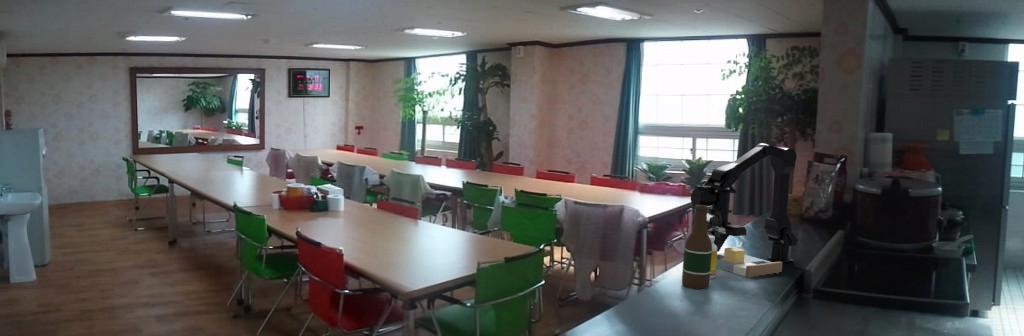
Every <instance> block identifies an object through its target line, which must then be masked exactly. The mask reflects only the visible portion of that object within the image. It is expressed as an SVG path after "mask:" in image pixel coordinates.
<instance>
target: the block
mask: <svg viewBox="0 0 1024 336" xmlns="http://www.w3.org/2000/svg"><path fill="white" fill-rule="evenodd" d="M723 253H724V260H725V261H728V262H731V263H742V262H744V257H745V255H746V250H745V249H741V248H737V247H734V246H732V247H726V248H724V250H723Z"/></svg>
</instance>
